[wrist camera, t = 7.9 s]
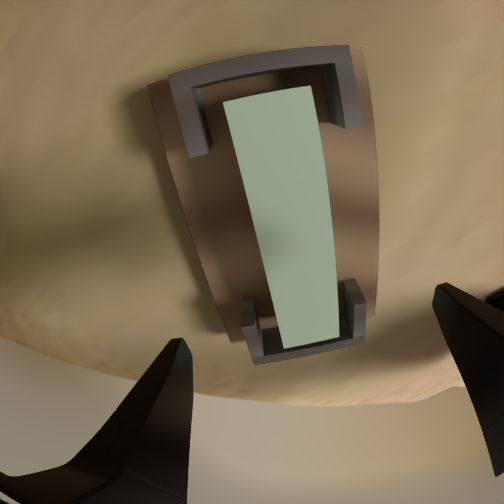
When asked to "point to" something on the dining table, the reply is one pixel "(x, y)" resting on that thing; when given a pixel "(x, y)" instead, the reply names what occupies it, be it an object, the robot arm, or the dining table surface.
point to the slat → (289, 208)
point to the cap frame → (234, 195)
